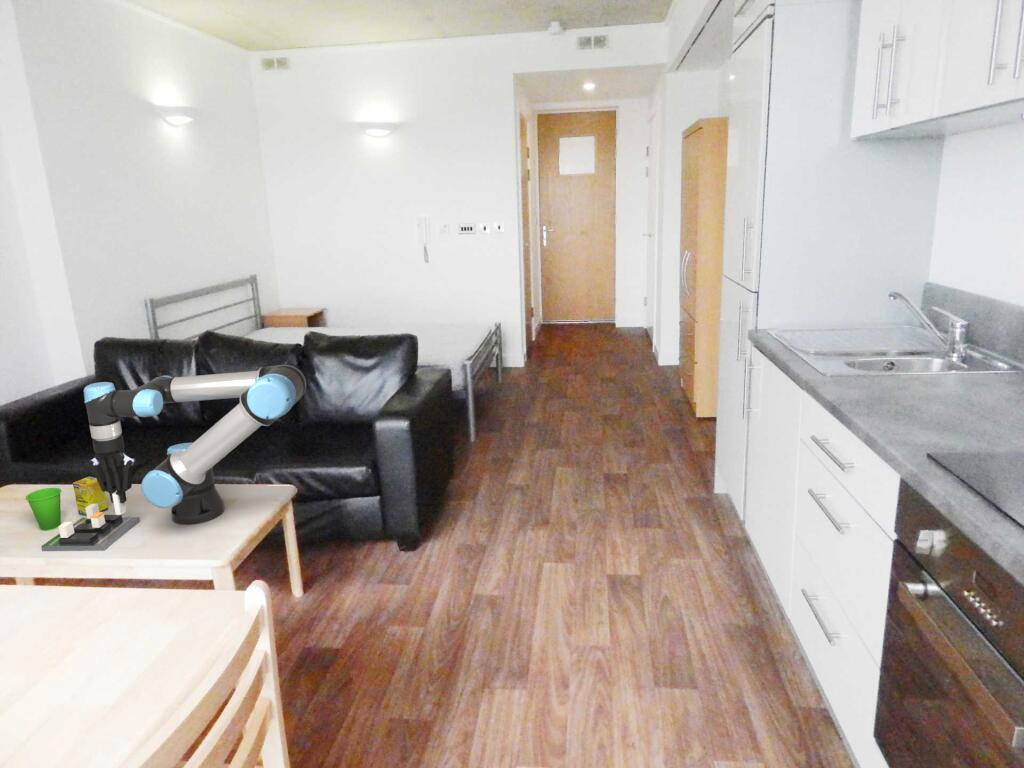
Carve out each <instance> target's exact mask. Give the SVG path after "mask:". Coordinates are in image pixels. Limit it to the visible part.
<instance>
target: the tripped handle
mask: <svg viewBox="0 0 1024 768" xmlns="http://www.w3.org/2000/svg"><path fill="white" fill-rule="evenodd" d="M104 515H105V514H104V512H96V513H95V514H93V515H92V516H90V518H91V523H92V527H93V528H100V527H101V526H102V525H104V524H105V518H104Z"/></svg>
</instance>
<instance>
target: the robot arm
mask: <svg viewBox="0 0 1024 768" xmlns="http://www.w3.org/2000/svg"><path fill="white" fill-rule="evenodd" d="M306 390H307V380H306V377H305V375H304V374H303V372H302V371H301V370H300V369H299V368H297V367H296V366H294V365H290V364H278V365H271V366H260V368H259V369H258V370H251V371H238V372H237V371H236V372H226V373H224V372H223V373H216V374H214V373H213V374H203V375H191V376H190V375H189V376H175V377H173V376H170V375H161V376H158V377H155V378H153V379H152V380H150V381H148V382H146V383H145V384H142V385H140V386H138V387H137V388H135V389H126V390H123V389H122V390H121V389H116V388H115V384H114V383H113V382H108V381H102V382H101V381H99V382H93V383H90V384H88V385H86V386H85V387H84V388H83V397H84V404H85V408H86V414H87V417H88V418H87V419H88V423H89V425H88V426H89V430H90V436H91V438H92V440H91V441H92V447H93V451H94V453H95V454H94V457H93V458H92V459H90V460H88V461H87V465H88V466H89V467H90V468H91V470H92V472H93V474H94V476H95V478H96V479H97V481H98V483H99V485H100V488H101V490H102V491H103V492H105V493H106V492H107V493H108V494H109V497H110V502H111V504H113V505H114V506H113V507H114V511H115V515H121V514H122V515H123V514H124V513H126V511H127V508H126V502H127V494H126V492H127V491H129V490H130V489H131V488H132V486H133V474H134V473H133V472H134V466H135V463H136V461H137V459H136V458H135V457H132V458H131V457H129V456H128V455H127V452H126V451H125V441H124V436H123V435H122V433H123V431H122V423H121V418H122V417H123V418H129V417H130V418H134V417H135V418H138V417H140V418H148V417H155V416H158V415H159V414H160V413H161V412H162V410H163V407H164V404H171V403H172V404H173V403H174V404H175V403H186V402H198V401H199V402H200V401H210V400H211V401H212V400H222V399H235V398H236V399H237V398H239V403H238V404H237V405H236V406H234V407H233V408H232V409H231V410H230V411H229V412H228V413H226V414H225V415H224V416H223V417H222V418H220V419H219V420H218V421H217V422H216V423H214V424H213V426H211V427H210V428H209V429H208V430H206V432H204V433H203V434H202V435H201V436H200V437H198V438H197V439H196V440H195V441H194V442H183V443H178V444H174V445H171V446H169V447H168V448H167V450H166V452H167V453H166V455H167V457H166V459H164V460H163V461H162V462H161V463H160V464H159V465H157V466H156V467H155V468H154V469H152V470H150V471H148V472H147V473H146V475H145V476H144V477H143V479H142V481H141V485H140V487H141V493H142V495H143V497H144V498H145V500H146V501H147V502H148V503H150V504H151V505H153V506H155V507H157V508H158V509H159V508H161V509H162V508H163V509H171V511H170V516H171V520H172V522H174V523H176V524H179V525H192V524H193V525H194V524H200V523H205V522H209V521H211V520H213V519H215V518H217V517H219V516H221V514H223V512H224V511H225V504H224V501H223V498H222V497H221V495H220V493H219V491H218V490H217V488H216V484H215V478H214V471H213V467H214V466H215V465H217V464H218V463H219V462H220V461H221V460H222V459H223V458H225V457H226V456H227V455H228V454H229V453H231V452H232V451H233V450H234V449H235V448H237V447H238V446H239V445H240V444H241V443H242V442H244V441H245V440H247V438H249V437H250V436H251V435H252V434H253V433H254V432H256V431H257V430H258V429H259V428H260V427H261V426H265V427H269V426H271V425H272V424H273V423H274V422H276V421H277V420H279V419H280V418H281V417H282V416H285V415H286V414H287V413H289V411H290V410H291V409H292V407H293V406H294V405H295V404H297V403H298V402H299V401H300V399H302V398H303V396H304V395H305V392H306ZM123 463H124V464H123Z"/></svg>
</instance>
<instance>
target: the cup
mask: <svg viewBox="0 0 1024 768" xmlns="http://www.w3.org/2000/svg"><path fill="white" fill-rule="evenodd" d="M61 493H62V489H61V488H58V487H47V488H41V489H39V490H35V491H32V492H30V493H28V494H26V496H25V500H26V501H27V503H28V504H29V507H30V509H31V511H32V514H33V516H34V517H35V520H36V522H37V525H38V526H39V528H40V530H41V531H44V532H45V531H52V530H55V529H57V528H59V526H60V525H61V524H62V521H61V520H62V519H61V515H62V514H61V513H62V511H61Z"/></svg>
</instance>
